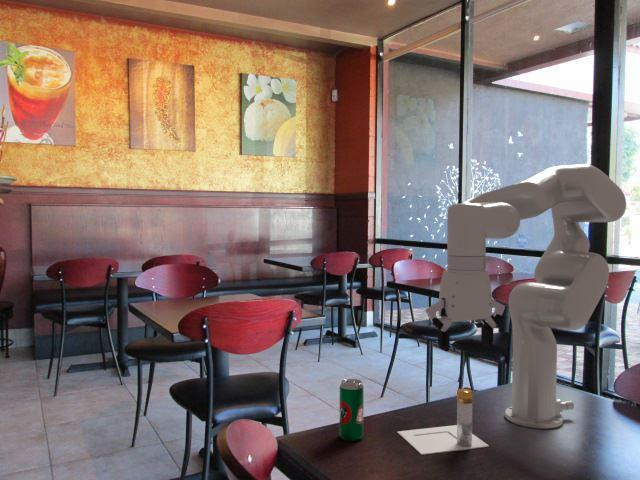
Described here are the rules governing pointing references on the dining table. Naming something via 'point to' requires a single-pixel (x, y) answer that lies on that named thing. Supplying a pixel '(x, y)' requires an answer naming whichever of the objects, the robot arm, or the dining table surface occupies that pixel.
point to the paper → (437, 440)
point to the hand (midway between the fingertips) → (465, 348)
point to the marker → (464, 417)
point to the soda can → (351, 409)
